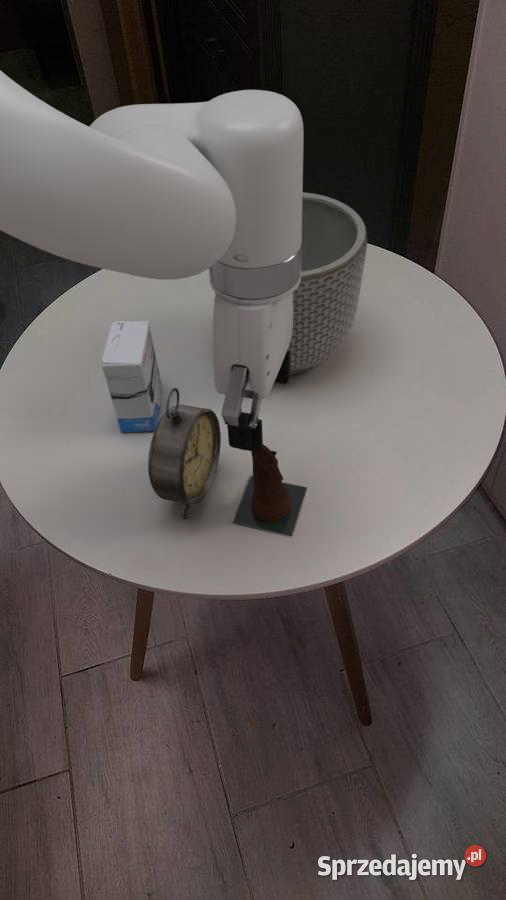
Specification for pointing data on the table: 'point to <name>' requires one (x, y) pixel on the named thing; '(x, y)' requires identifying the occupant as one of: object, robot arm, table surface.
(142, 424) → the ink box
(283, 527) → the slate coaster
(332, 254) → the planter
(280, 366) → the robot arm
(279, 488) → the chess piece
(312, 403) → the table surface
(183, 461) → the alarm clock
